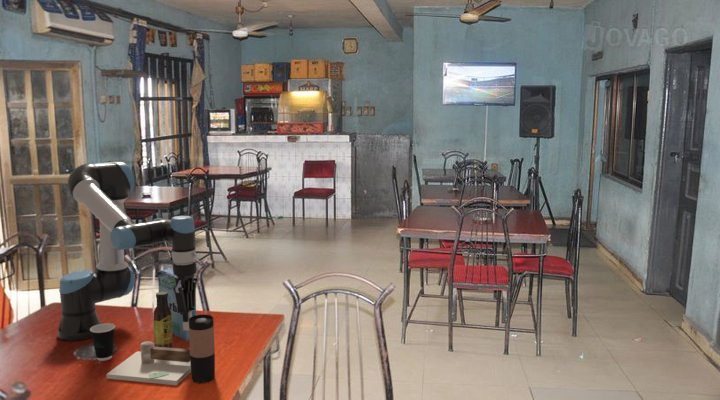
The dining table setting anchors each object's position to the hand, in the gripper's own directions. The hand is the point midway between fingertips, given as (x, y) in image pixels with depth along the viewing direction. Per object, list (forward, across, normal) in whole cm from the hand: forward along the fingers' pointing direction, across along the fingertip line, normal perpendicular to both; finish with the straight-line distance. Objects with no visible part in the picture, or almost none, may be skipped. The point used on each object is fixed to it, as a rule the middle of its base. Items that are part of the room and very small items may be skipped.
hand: (187, 329), depth 201 cm
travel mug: (+11, -13, -11) cm, 20 cm away
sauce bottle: (+11, +8, +14) cm, 19 cm away
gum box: (+10, +21, +15) cm, 28 cm away
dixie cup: (+10, -5, +29) cm, 31 cm away
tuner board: (+11, -10, +7) cm, 16 cm away
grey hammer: (+9, -8, +4) cm, 12 cm away
